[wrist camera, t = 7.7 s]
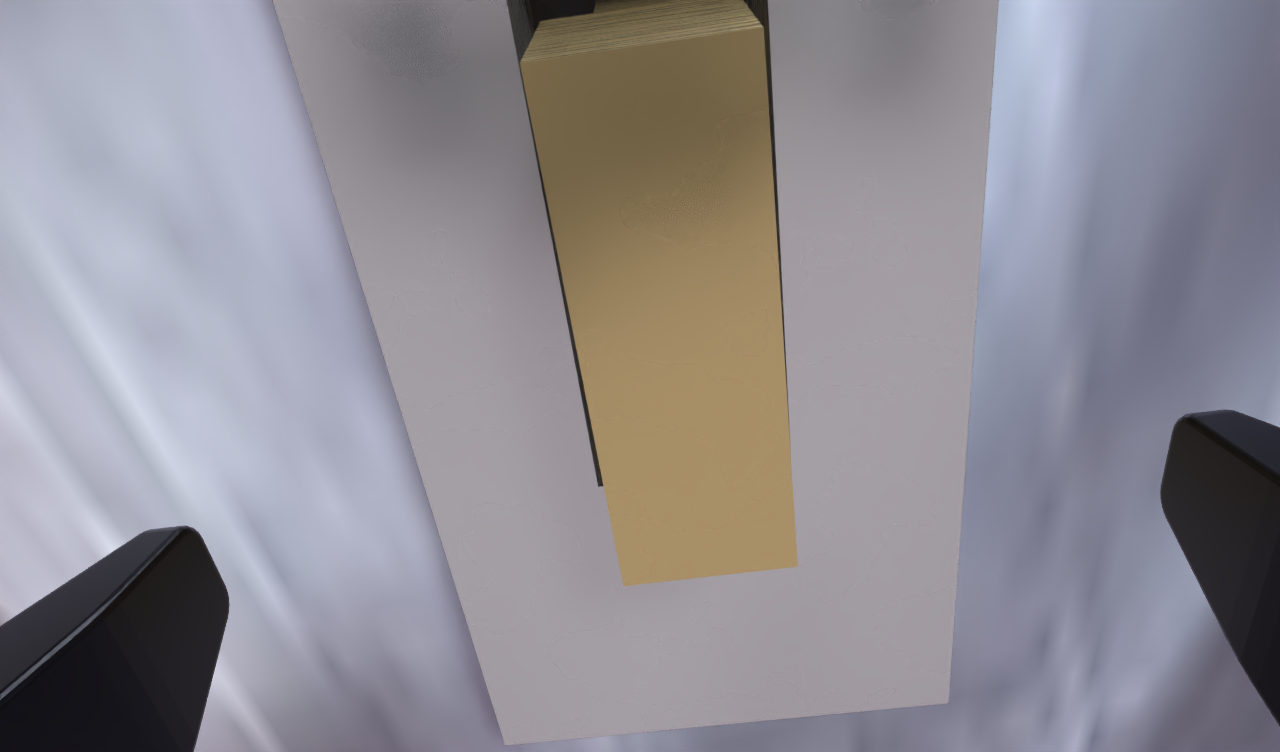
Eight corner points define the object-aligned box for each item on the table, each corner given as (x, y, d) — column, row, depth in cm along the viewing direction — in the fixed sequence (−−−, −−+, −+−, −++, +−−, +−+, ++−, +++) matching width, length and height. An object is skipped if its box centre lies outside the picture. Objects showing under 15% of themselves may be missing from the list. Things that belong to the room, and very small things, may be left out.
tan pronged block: (707, -46, 15) (764, 26, 9) (740, 329, 18) (797, 567, 12) (562, -25, 15) (519, 62, 9) (624, 344, 18) (623, 586, 12)
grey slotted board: (967, -900, 10) (1080, -1148, 8) (911, 604, 22) (948, 703, 20) (134, -744, 11) (-18, -930, 8) (518, 644, 23) (504, 745, 20)
